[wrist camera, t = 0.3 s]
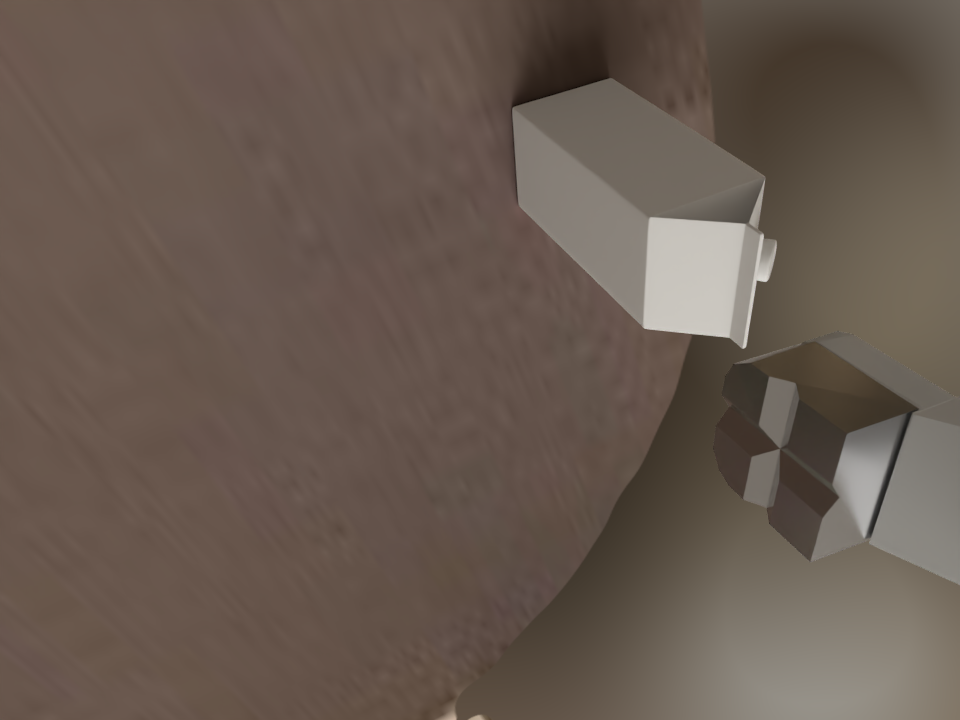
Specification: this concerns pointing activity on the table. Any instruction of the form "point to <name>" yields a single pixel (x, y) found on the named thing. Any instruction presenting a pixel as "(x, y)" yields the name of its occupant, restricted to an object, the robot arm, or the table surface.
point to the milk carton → (645, 207)
